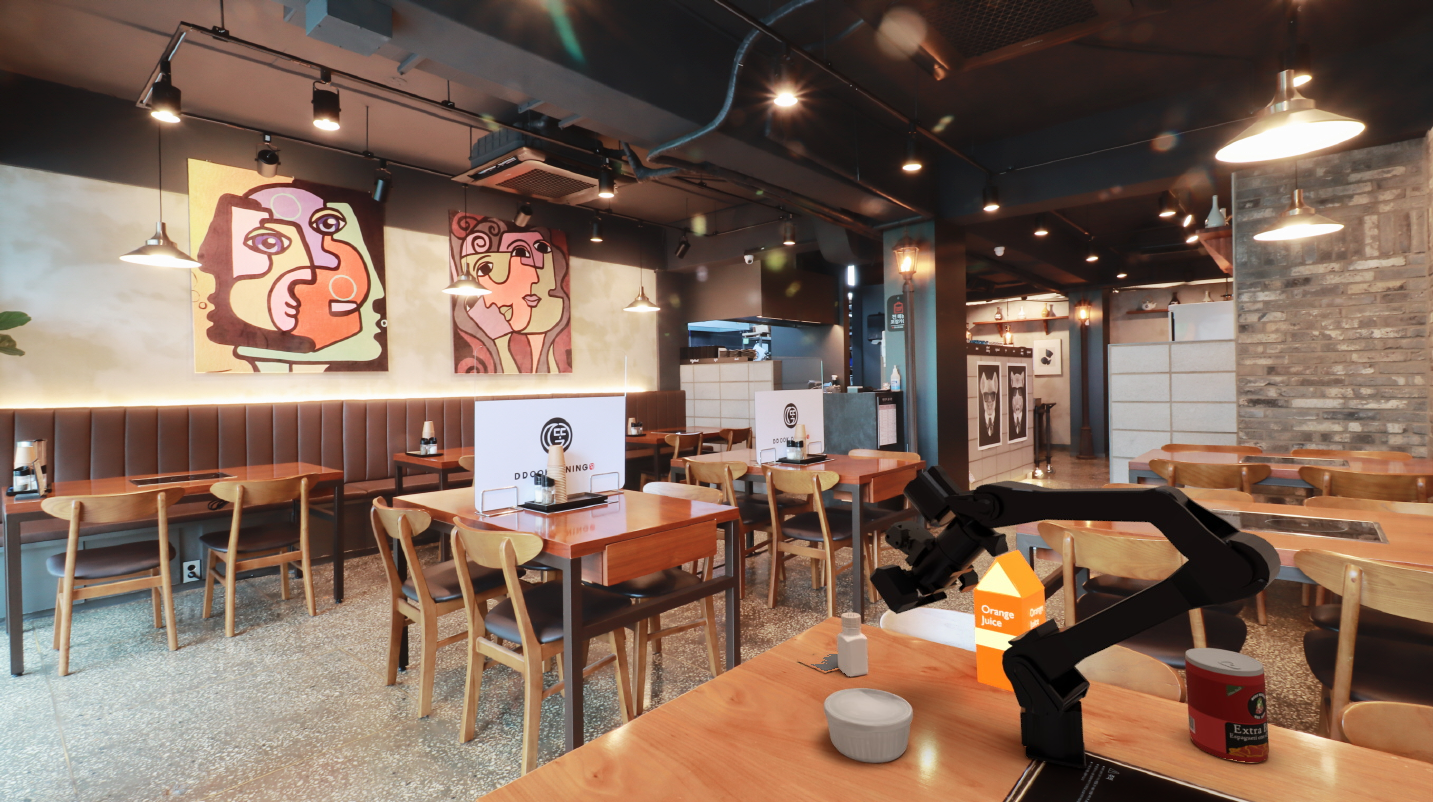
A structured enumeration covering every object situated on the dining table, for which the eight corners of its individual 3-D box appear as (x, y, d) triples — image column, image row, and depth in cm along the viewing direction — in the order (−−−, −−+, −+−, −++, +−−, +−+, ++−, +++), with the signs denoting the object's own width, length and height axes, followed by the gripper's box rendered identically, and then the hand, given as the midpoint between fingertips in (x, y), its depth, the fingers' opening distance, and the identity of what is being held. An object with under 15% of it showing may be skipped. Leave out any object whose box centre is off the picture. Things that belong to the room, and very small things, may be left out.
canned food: (1239, 769, 75) (1233, 674, 75) (1173, 738, 82) (1169, 651, 83) (1286, 758, 77) (1281, 665, 77) (1218, 728, 84) (1213, 644, 85)
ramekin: (923, 736, 85) (921, 696, 85) (901, 778, 75) (899, 732, 76) (842, 719, 91) (841, 681, 91) (812, 755, 81) (811, 713, 81)
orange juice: (976, 681, 102) (970, 555, 102) (1001, 666, 108) (995, 546, 108) (1027, 695, 96) (1020, 561, 97) (1050, 678, 102) (1043, 552, 103)
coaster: (858, 662, 111) (858, 659, 111) (825, 673, 107) (825, 670, 107) (829, 651, 117) (829, 648, 117) (797, 661, 112) (797, 658, 112)
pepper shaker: (836, 670, 108) (834, 613, 109) (857, 666, 109) (855, 610, 110) (848, 678, 104) (846, 619, 105) (870, 675, 106) (867, 616, 106)
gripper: (957, 499, 100) (903, 559, 109) (877, 511, 89) (824, 577, 98) (1007, 557, 93) (945, 616, 102) (926, 578, 83) (865, 642, 91)
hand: (895, 610), depth 99 cm, fingers closed
